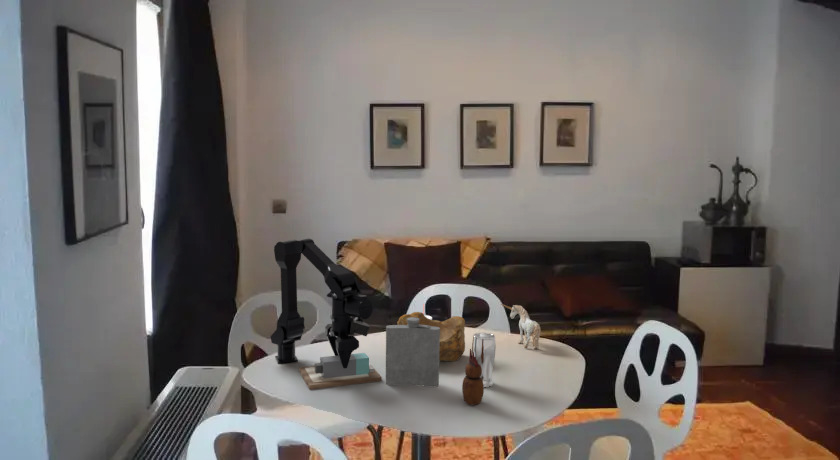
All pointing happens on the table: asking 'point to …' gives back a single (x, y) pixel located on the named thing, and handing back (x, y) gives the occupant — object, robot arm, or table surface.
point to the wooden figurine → (473, 382)
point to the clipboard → (336, 378)
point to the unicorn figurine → (526, 326)
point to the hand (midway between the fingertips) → (341, 363)
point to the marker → (334, 367)
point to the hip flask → (412, 354)
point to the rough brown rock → (444, 334)
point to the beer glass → (484, 355)
